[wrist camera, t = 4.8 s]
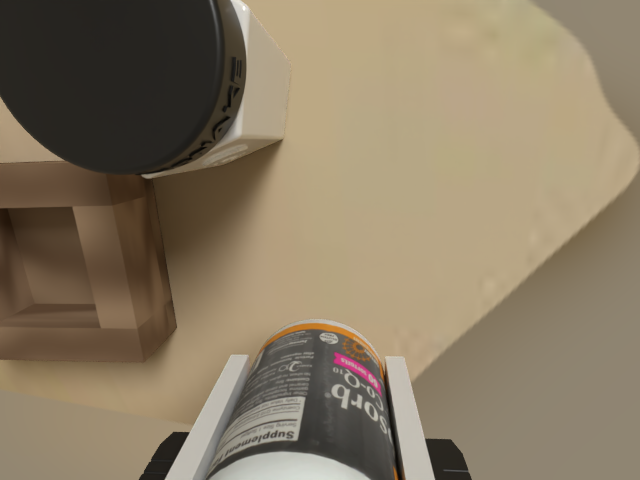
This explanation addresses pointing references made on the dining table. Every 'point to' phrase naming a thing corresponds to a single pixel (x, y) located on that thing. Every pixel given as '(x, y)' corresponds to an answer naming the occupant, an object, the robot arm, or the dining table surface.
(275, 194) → the dining table surface
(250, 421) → the pill bottle
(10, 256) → the socket block
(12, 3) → the jar
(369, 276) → the dining table surface
